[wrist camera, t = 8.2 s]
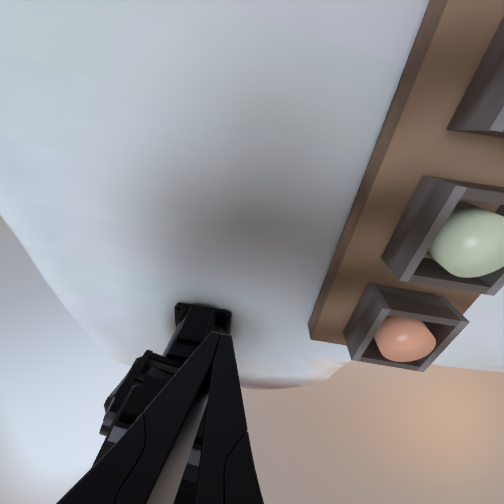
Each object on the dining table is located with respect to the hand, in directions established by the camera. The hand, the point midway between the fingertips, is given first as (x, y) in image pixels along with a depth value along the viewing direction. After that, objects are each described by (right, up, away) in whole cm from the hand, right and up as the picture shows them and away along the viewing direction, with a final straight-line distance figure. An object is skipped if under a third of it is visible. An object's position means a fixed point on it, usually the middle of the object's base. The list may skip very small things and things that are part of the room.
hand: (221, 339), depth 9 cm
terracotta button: (+14, -2, +11) cm, 18 cm away
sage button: (+15, +5, +7) cm, 17 cm away
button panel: (+15, +6, +9) cm, 19 cm away
